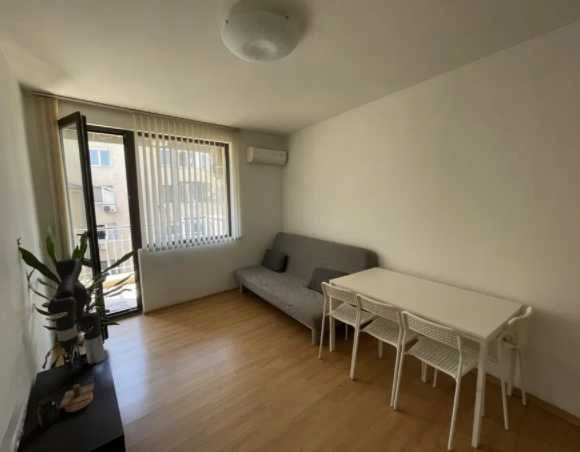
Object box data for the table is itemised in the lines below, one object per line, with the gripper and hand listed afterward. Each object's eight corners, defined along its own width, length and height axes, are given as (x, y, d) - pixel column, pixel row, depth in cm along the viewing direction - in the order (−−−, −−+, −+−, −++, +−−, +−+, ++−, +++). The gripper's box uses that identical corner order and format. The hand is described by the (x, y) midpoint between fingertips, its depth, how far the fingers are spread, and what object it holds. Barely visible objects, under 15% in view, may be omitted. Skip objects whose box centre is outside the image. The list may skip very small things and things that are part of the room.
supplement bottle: (56, 414, 126) (52, 392, 125) (62, 419, 123) (57, 397, 121) (38, 425, 120) (33, 402, 119) (43, 431, 117) (38, 408, 115)
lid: (66, 393, 133) (64, 383, 132) (94, 384, 139) (92, 374, 138) (59, 409, 123) (57, 398, 122) (89, 399, 128) (87, 388, 128)
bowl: (69, 401, 134) (68, 393, 133) (94, 393, 139) (93, 385, 138) (62, 417, 124) (61, 408, 123) (90, 407, 129) (88, 398, 128)
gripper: (63, 331, 132) (68, 359, 134) (53, 345, 119) (59, 376, 122) (80, 327, 135) (85, 354, 137) (73, 340, 123) (78, 370, 125)
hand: (73, 364), depth 129 cm, fingers open, 8 cm apart
